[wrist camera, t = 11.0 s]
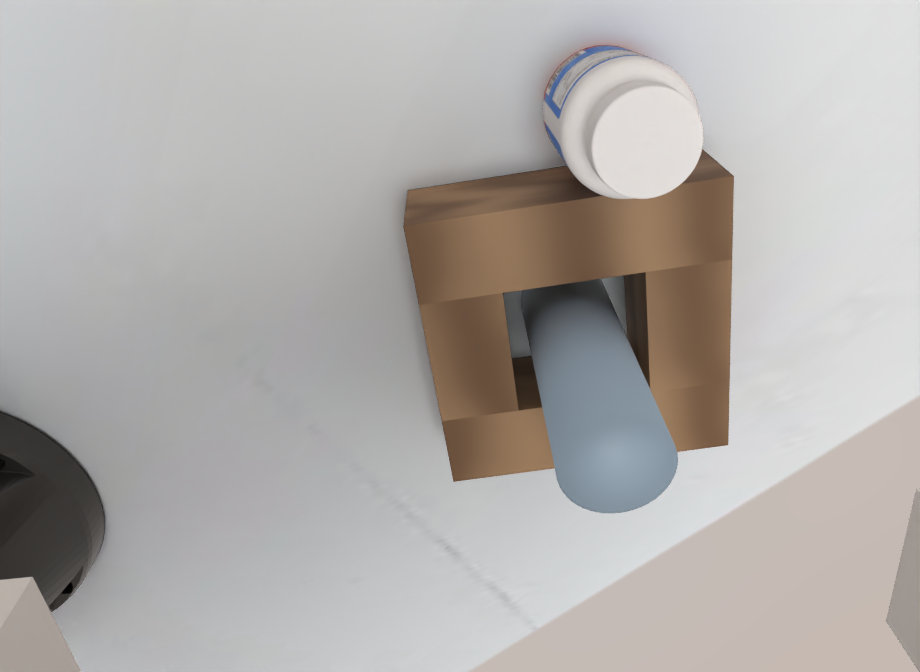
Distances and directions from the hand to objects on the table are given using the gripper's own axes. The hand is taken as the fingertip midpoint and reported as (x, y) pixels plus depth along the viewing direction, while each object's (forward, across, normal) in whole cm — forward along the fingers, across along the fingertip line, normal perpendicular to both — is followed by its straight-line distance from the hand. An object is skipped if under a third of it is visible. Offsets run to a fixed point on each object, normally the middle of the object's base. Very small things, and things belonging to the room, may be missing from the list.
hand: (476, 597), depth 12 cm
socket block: (+28, +5, -9) cm, 29 cm away
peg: (+28, +5, -9) cm, 29 cm away
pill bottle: (+28, +7, +1) cm, 29 cm away
